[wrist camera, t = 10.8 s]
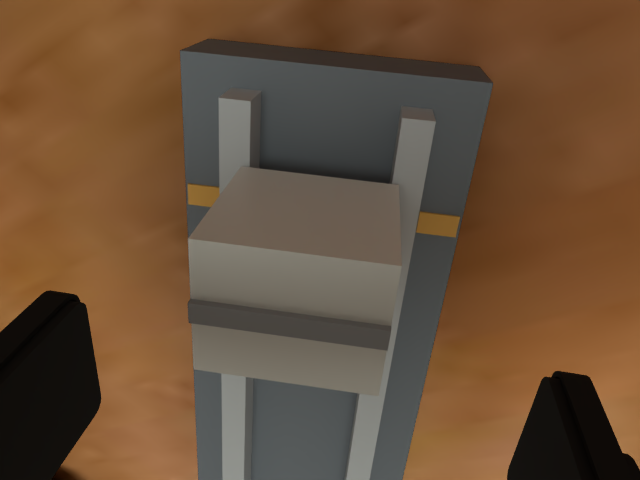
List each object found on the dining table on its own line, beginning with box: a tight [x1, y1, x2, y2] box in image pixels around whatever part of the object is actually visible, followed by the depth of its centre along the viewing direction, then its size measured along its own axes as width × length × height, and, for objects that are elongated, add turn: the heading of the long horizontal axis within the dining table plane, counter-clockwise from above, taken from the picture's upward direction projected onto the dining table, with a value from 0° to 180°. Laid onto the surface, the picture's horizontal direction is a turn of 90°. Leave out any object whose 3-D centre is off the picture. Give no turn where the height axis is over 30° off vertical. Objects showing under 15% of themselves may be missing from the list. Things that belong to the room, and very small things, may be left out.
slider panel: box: [180, 39, 493, 480], centre depth 24 cm, size 10×26×4 cm, turn 175°
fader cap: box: [188, 166, 402, 396], centre depth 16 cm, size 5×4×7 cm
